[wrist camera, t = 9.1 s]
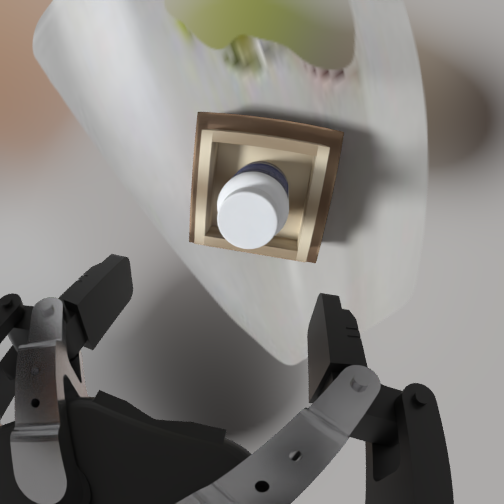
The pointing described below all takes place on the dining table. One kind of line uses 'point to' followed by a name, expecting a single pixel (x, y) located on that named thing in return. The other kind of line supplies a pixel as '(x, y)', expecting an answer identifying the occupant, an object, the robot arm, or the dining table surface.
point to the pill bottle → (253, 205)
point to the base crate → (281, 130)
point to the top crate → (270, 150)
